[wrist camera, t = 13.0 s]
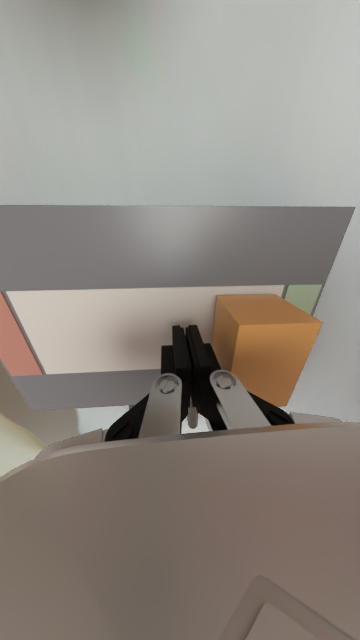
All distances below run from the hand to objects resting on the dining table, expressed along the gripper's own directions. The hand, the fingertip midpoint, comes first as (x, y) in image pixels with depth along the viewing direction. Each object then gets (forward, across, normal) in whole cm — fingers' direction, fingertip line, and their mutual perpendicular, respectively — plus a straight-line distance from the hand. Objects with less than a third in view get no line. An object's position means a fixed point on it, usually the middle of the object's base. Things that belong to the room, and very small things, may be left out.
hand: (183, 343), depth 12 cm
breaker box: (+7, +2, +6) cm, 9 cm away
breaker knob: (+1, -4, 0) cm, 4 cm away
